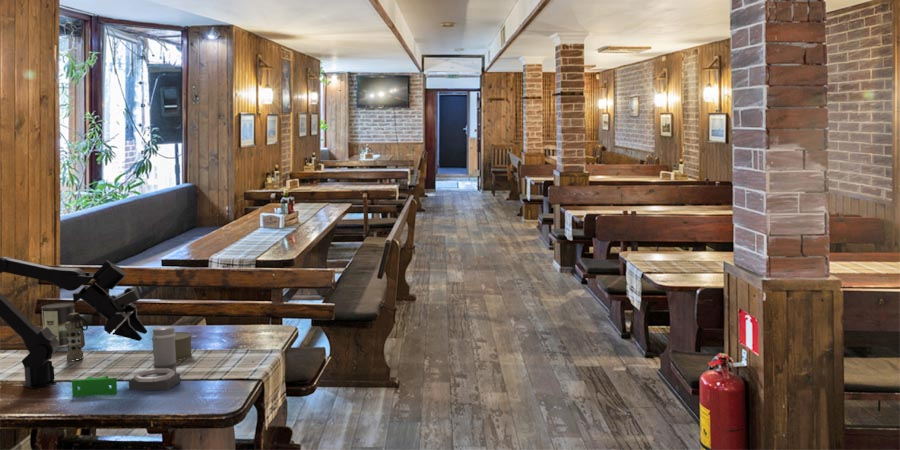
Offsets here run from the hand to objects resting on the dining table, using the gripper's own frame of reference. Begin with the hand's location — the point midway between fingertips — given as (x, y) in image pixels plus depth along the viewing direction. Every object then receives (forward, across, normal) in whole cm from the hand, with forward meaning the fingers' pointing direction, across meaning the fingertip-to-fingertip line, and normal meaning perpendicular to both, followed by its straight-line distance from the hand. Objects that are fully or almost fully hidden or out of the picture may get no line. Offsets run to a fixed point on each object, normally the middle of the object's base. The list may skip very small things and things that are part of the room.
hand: (143, 336), depth 213 cm
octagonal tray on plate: (+12, -10, +6) cm, 16 cm away
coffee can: (-17, +51, +34) cm, 64 cm away
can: (+12, +22, +6) cm, 26 cm away
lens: (+12, 0, +5) cm, 13 cm away
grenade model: (-9, +28, +26) cm, 39 cm away
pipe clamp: (+2, -14, +16) cm, 21 cm away
